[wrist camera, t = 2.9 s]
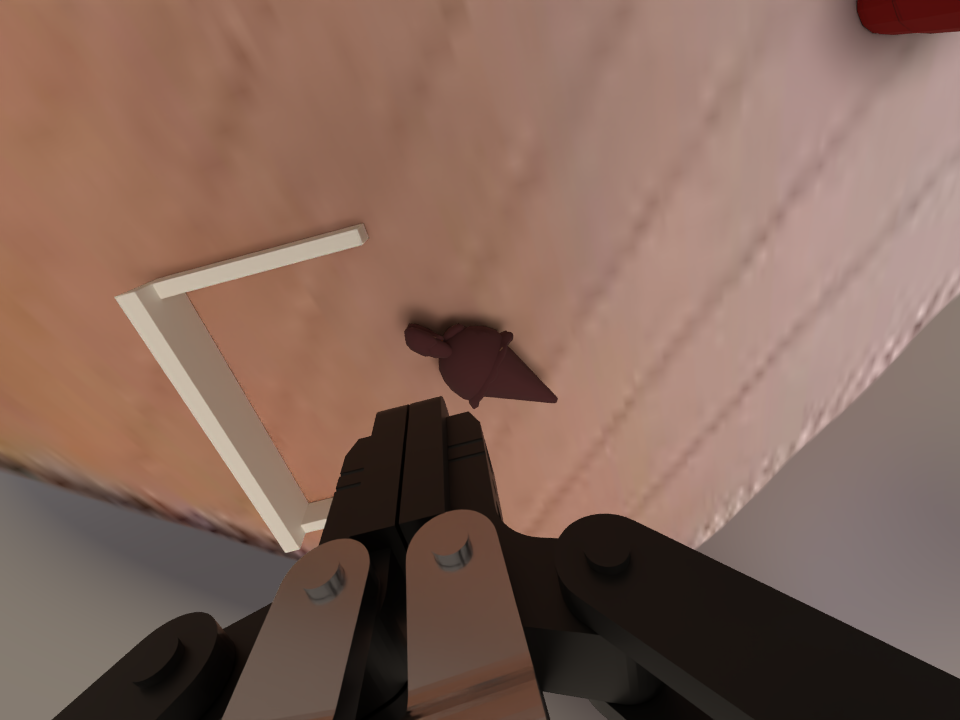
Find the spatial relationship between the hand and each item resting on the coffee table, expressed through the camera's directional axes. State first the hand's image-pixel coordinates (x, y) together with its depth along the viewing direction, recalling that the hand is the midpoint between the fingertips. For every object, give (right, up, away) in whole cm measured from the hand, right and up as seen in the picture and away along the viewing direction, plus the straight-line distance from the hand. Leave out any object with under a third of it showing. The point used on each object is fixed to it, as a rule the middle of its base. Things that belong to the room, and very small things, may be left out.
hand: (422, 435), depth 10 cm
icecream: (+1, +3, +30) cm, 30 cm away
